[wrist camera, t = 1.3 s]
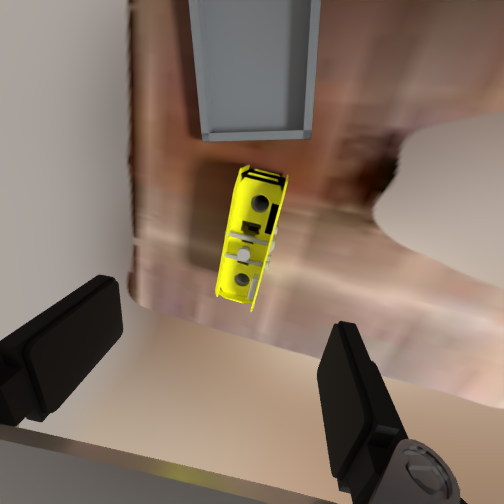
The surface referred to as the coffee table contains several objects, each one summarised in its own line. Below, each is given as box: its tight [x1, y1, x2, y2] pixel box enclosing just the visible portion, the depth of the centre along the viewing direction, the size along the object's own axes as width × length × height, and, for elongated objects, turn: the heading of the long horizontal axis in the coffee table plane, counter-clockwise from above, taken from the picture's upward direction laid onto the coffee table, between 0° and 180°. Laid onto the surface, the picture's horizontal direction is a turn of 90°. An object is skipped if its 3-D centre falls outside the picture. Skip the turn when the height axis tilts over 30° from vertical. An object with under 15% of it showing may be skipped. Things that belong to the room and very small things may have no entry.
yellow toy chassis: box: [215, 165, 289, 312], centre depth 28 cm, size 16×6×8 cm, turn 168°
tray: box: [189, 0, 321, 142], centre depth 22 cm, size 12×22×2 cm, turn 1°
